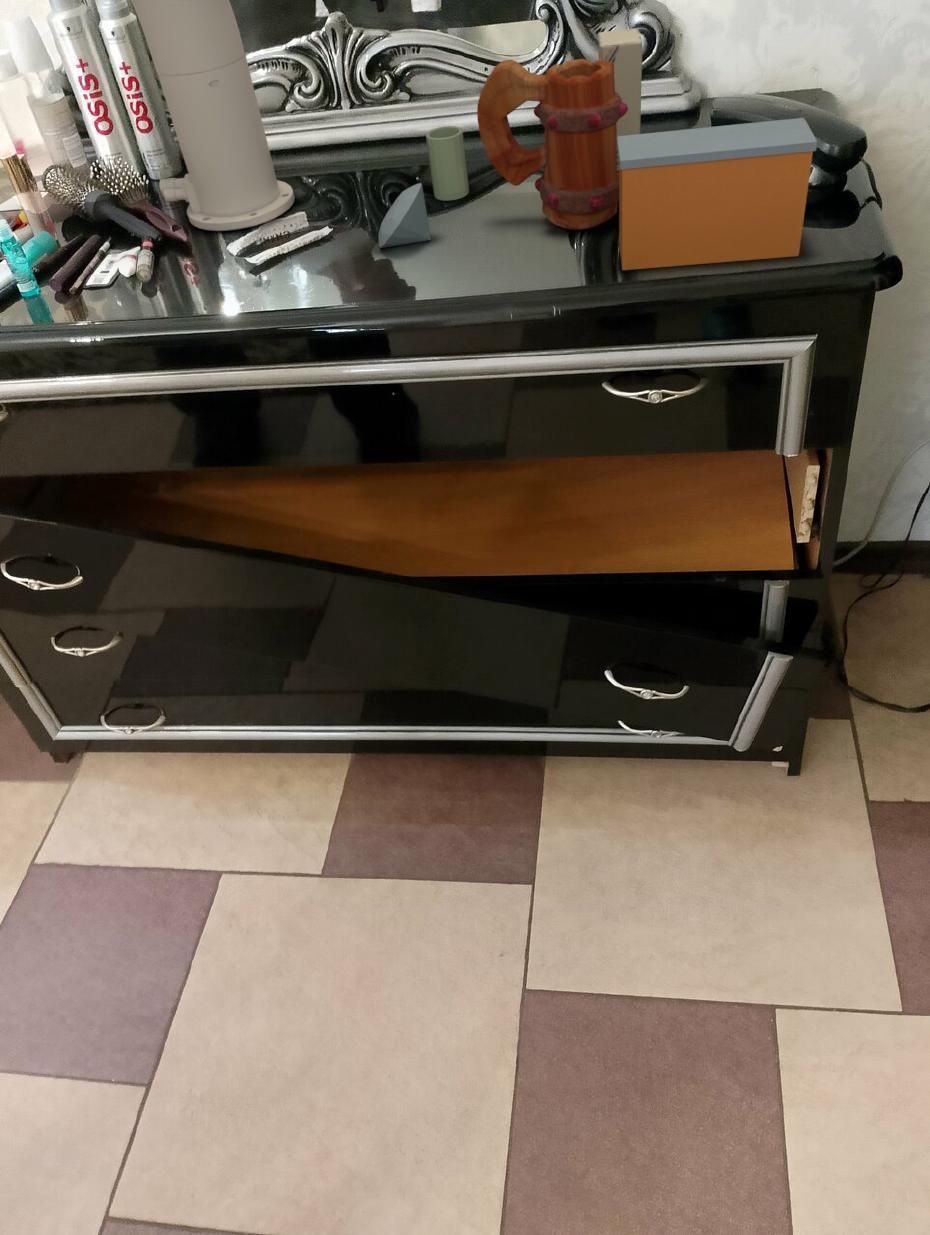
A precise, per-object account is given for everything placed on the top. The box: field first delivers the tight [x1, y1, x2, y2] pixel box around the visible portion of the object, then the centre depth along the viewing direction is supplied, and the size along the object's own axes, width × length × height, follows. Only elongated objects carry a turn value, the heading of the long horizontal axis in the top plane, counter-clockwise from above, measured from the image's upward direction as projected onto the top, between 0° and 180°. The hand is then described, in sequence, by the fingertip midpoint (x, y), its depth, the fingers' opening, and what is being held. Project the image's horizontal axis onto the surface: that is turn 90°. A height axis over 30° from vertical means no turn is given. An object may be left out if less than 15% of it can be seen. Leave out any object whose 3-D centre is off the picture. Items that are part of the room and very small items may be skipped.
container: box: [617, 117, 818, 271], centre depth 85 cm, size 16×6×10 cm, turn 86°
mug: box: [476, 58, 628, 231], centre depth 92 cm, size 15×8×15 cm, turn 74°
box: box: [597, 27, 643, 172], centre depth 102 cm, size 5×4×13 cm
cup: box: [425, 125, 470, 202], centre depth 104 cm, size 4×4×6 cm
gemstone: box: [377, 182, 432, 249], centre depth 97 cm, size 8×8×5 cm
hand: (430, 2), depth 93 cm, fingers open, 9 cm apart
